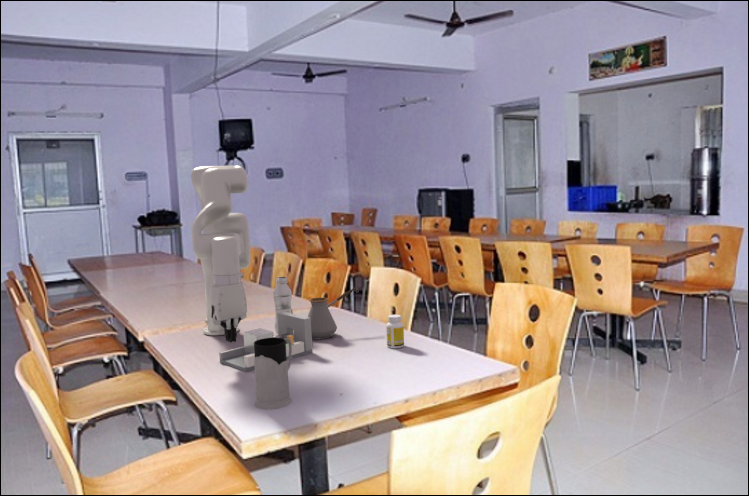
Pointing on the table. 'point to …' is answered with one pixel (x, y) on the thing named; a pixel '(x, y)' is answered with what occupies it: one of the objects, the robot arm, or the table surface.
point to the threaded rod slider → (258, 338)
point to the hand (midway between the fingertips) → (231, 341)
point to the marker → (290, 338)
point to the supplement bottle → (395, 332)
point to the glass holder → (272, 373)
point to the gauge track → (285, 325)
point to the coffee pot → (323, 317)
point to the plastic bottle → (281, 298)
